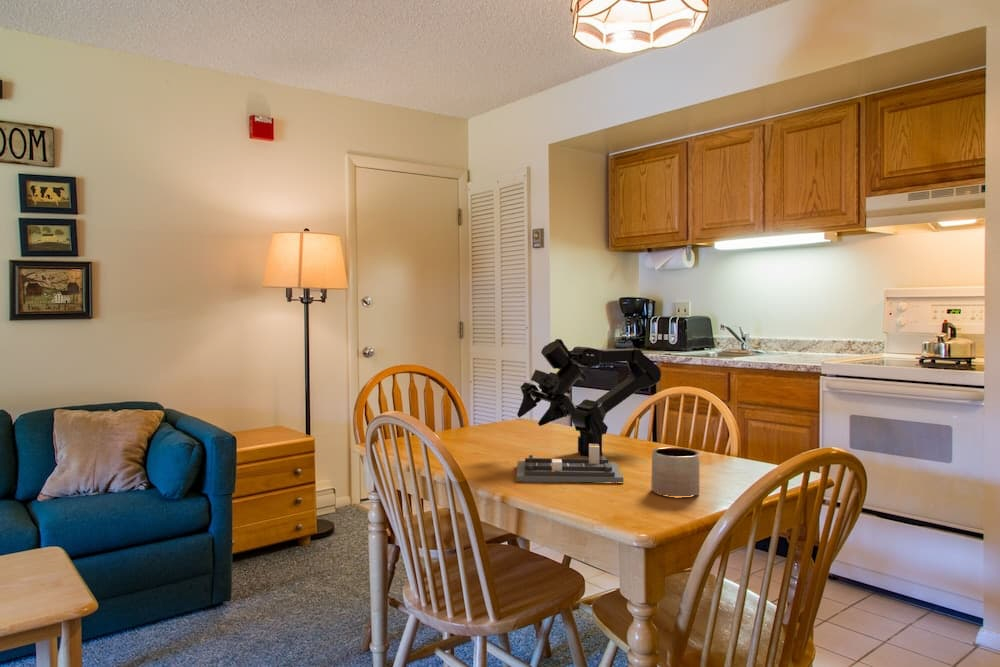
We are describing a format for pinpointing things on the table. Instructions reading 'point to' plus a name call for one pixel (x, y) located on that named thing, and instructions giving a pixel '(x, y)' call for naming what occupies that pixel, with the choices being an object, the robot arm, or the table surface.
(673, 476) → the planter
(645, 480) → the table surface
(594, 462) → the fader
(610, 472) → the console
